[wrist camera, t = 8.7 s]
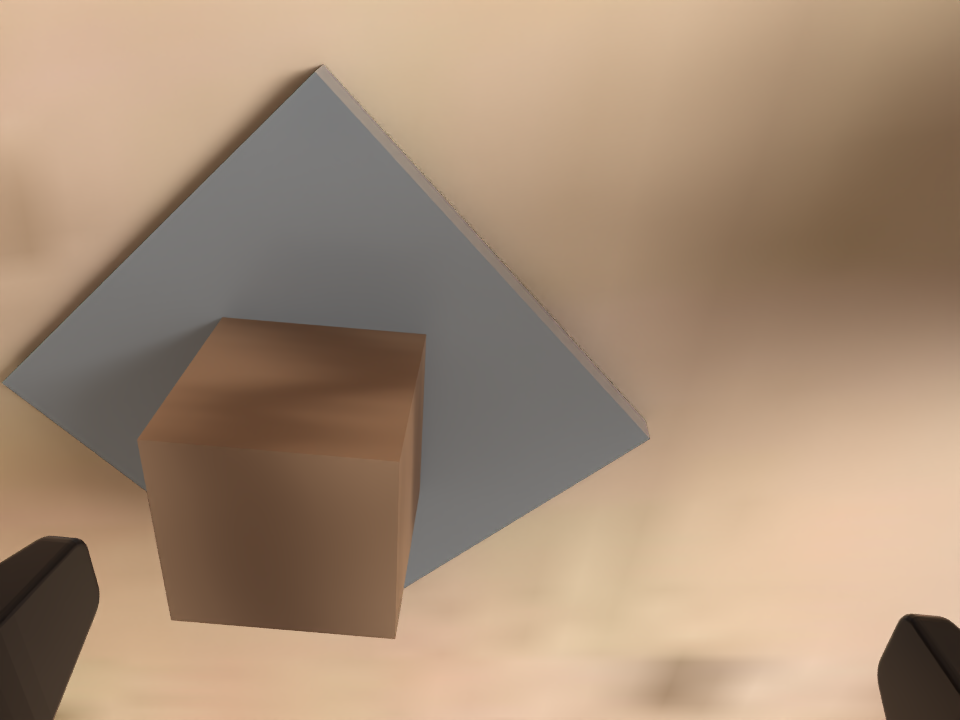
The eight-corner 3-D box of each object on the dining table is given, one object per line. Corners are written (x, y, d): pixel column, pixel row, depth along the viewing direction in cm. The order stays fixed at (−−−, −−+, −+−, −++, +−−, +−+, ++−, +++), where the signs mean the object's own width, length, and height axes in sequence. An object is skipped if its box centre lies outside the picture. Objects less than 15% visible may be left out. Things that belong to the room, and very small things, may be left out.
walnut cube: (426, 334, 19) (398, 461, 15) (419, 491, 22) (395, 639, 18) (222, 317, 19) (136, 439, 15) (239, 476, 22) (171, 620, 18)
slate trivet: (645, 421, 21) (649, 438, 21) (337, 611, 26) (332, 631, 25) (323, 64, 17) (315, 71, 16) (18, 366, 21) (1, 382, 21)
